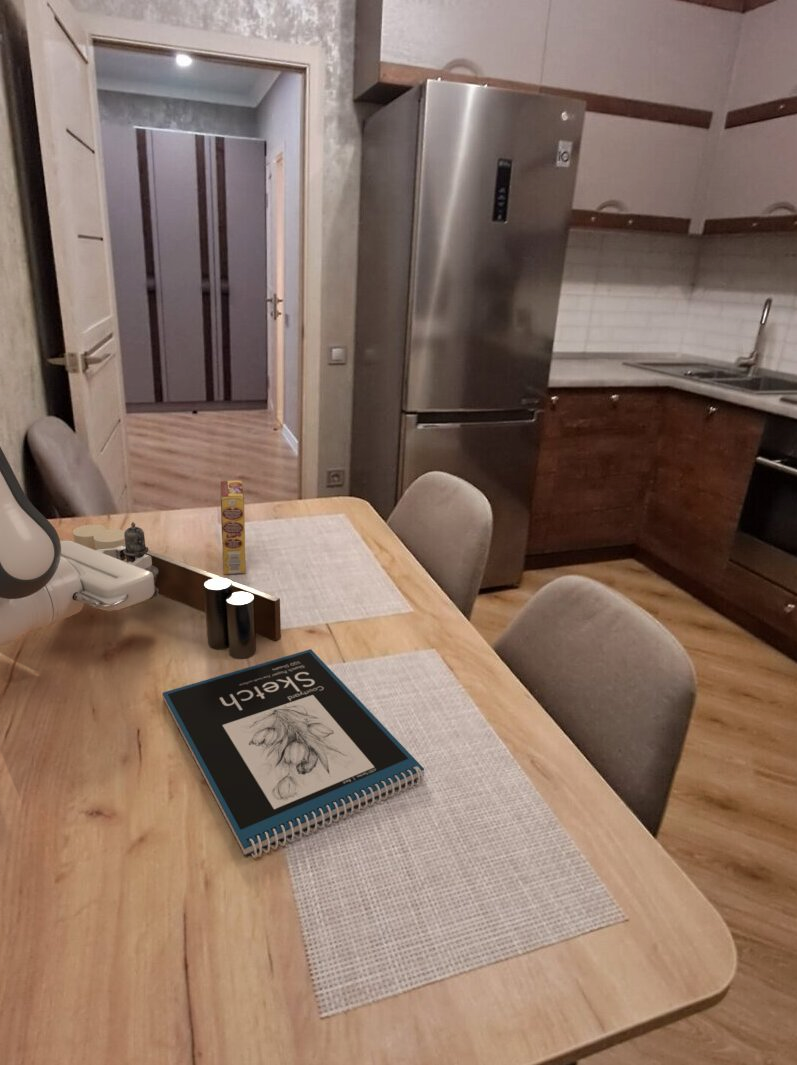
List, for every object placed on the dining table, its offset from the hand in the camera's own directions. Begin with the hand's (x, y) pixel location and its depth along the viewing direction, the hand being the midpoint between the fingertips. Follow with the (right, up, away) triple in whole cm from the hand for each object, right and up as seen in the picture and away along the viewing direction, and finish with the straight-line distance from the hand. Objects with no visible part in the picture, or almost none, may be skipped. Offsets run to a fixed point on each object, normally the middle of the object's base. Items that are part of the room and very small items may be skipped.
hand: (137, 555), depth 102 cm
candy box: (+9, -3, +24) cm, 26 cm away
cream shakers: (-9, -7, +11) cm, 16 cm away
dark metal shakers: (+15, -14, -2) cm, 20 cm away
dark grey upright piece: (0, -6, +2) cm, 7 cm away
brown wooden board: (+5, -9, +9) cm, 14 cm away
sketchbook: (+26, -22, -20) cm, 40 cm away
